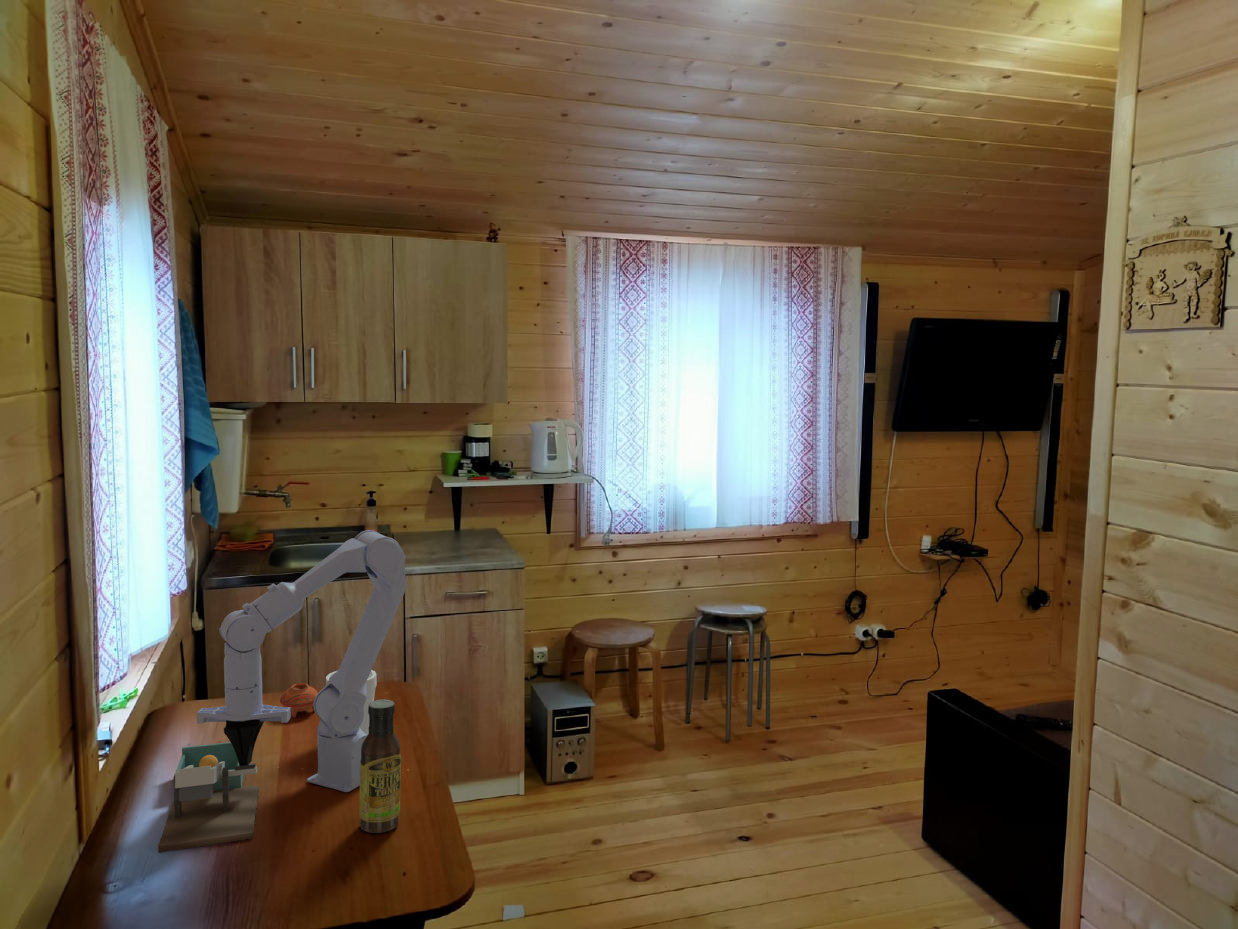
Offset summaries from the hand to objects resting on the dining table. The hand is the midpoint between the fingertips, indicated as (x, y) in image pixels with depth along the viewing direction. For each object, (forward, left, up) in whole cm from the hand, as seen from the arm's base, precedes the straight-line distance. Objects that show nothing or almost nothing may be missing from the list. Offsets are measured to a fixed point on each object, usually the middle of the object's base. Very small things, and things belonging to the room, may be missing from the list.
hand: (245, 763), depth 148 cm
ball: (+8, +1, -2) cm, 8 cm away
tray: (-1, +6, -2) cm, 7 cm away
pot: (+22, -33, -7) cm, 41 cm away
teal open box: (+11, -2, -6) cm, 13 cm away
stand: (-1, +7, -6) cm, 10 cm away
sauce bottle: (-26, -3, -7) cm, 27 cm away
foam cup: (+2, -27, -7) cm, 28 cm away
